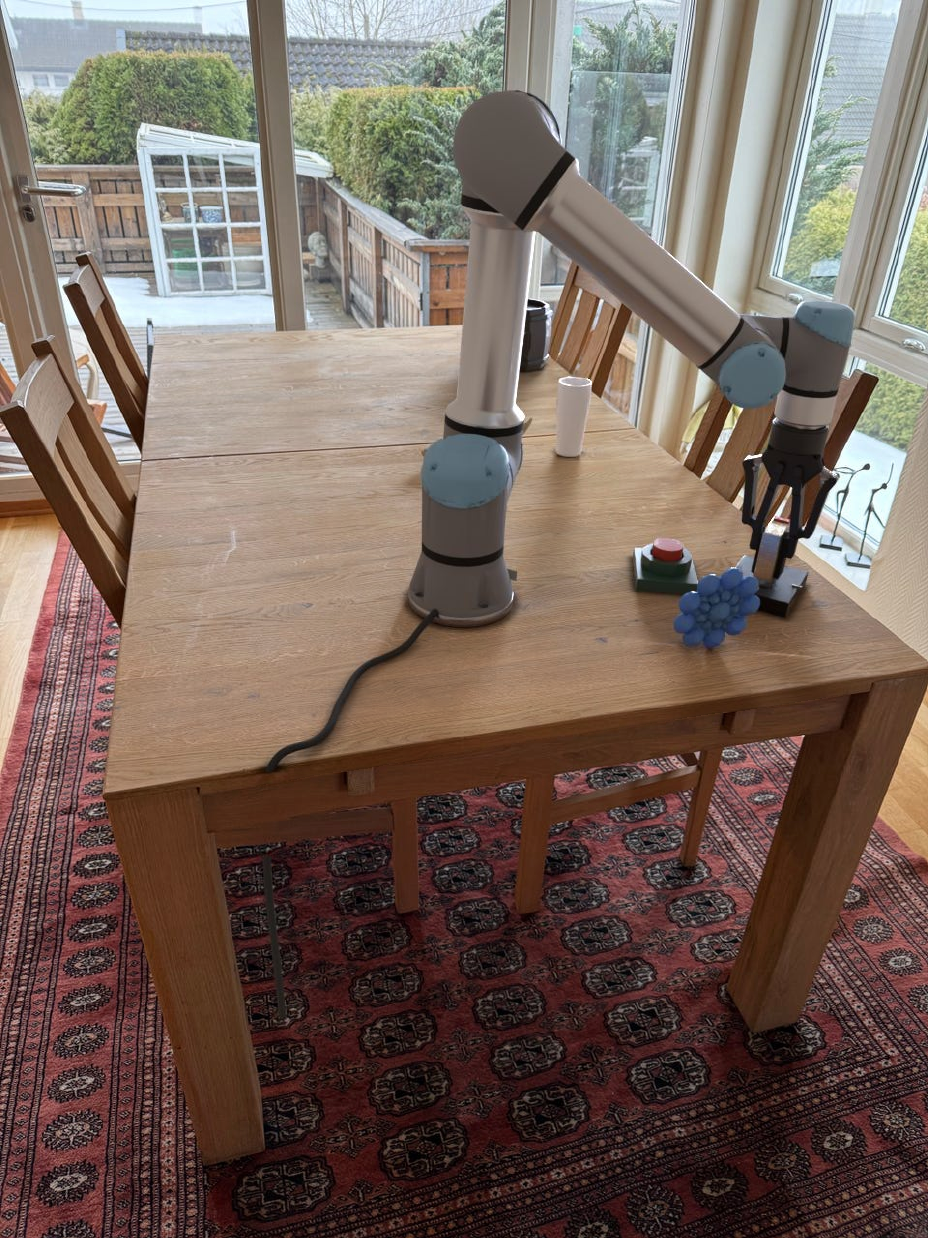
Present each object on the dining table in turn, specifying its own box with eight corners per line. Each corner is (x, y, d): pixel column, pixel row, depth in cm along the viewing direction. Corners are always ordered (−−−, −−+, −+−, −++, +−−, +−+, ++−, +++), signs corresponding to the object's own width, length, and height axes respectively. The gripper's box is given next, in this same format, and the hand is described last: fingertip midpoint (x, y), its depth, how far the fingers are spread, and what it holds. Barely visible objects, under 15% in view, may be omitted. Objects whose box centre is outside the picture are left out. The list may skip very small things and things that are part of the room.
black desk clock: (472, 356, 252) (474, 297, 244) (533, 353, 257) (537, 295, 249) (493, 374, 237) (496, 311, 229) (557, 370, 242) (562, 309, 234)
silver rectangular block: (768, 588, 135) (781, 534, 130) (751, 583, 136) (763, 530, 132) (779, 571, 140) (792, 519, 135) (762, 567, 141) (774, 515, 136)
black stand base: (787, 619, 132) (791, 603, 131) (715, 598, 137) (718, 582, 136) (807, 586, 141) (811, 571, 140) (739, 568, 146) (742, 553, 145)
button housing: (695, 595, 138) (700, 572, 136) (635, 590, 138) (639, 567, 136) (688, 562, 147) (692, 540, 145) (632, 558, 148) (635, 535, 146)
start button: (682, 563, 139) (685, 552, 138) (652, 561, 139) (654, 549, 138) (680, 550, 143) (682, 539, 142) (650, 548, 143) (652, 536, 142)
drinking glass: (546, 455, 187) (552, 382, 180) (559, 445, 192) (565, 374, 185) (577, 461, 185) (584, 388, 177) (589, 451, 190) (597, 380, 182)
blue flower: (737, 628, 130) (753, 552, 124) (757, 654, 124) (775, 575, 118) (658, 632, 128) (671, 555, 122) (675, 658, 122) (689, 579, 116)
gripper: (866, 424, 125) (825, 576, 137) (751, 403, 132) (722, 550, 144) (856, 439, 119) (815, 596, 131) (737, 416, 126) (708, 568, 138)
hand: (766, 572), depth 137 cm, fingers closed on silver rectangular block, 3 cm apart
